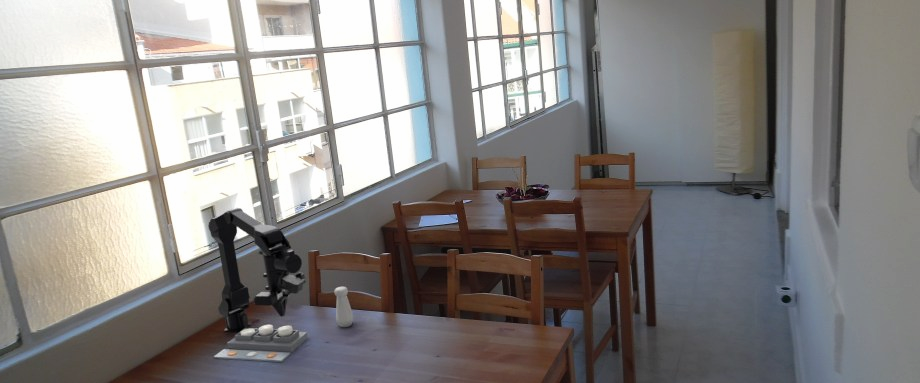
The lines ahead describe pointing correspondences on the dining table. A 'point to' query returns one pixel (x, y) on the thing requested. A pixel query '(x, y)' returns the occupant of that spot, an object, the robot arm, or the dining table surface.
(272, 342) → the button board
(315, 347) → the dining table surface
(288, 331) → the button right
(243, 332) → the button left
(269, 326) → the button middle
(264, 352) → the pattern card
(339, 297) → the salt shaker
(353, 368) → the dining table surface
